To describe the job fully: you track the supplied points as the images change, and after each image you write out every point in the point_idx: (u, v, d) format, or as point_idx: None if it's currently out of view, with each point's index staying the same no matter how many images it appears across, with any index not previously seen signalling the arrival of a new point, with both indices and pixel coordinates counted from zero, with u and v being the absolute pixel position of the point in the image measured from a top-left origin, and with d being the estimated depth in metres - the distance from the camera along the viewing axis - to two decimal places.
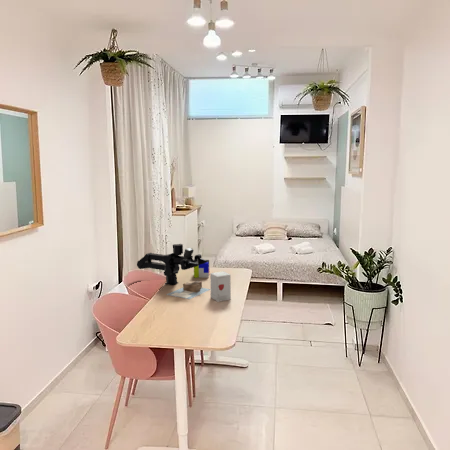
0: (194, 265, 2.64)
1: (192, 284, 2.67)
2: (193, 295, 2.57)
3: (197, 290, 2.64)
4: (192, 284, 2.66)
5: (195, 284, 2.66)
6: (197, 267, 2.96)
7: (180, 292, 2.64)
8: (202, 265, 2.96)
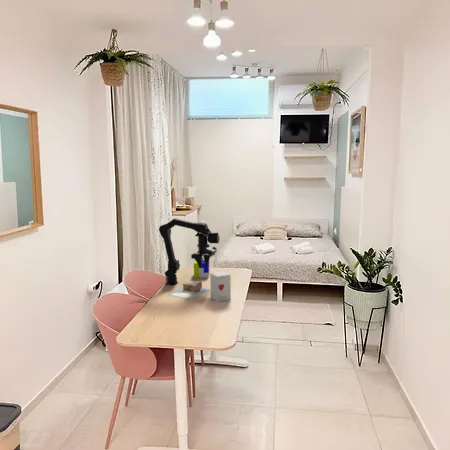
0: (199, 265, 2.73)
1: (192, 284, 2.67)
2: (193, 295, 2.57)
3: (197, 290, 2.64)
4: (192, 284, 2.66)
5: (195, 284, 2.66)
6: (197, 267, 2.96)
7: (180, 292, 2.64)
8: (202, 265, 2.96)
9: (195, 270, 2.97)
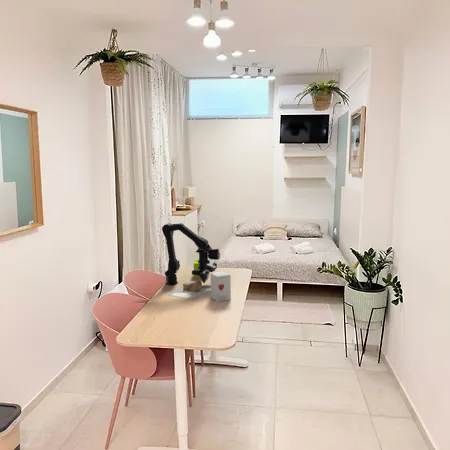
0: (202, 279, 2.78)
1: (192, 284, 2.67)
2: (193, 295, 2.57)
3: (197, 290, 2.64)
4: (192, 284, 2.66)
5: (195, 284, 2.66)
6: (197, 267, 2.96)
7: (180, 292, 2.64)
8: None
9: None
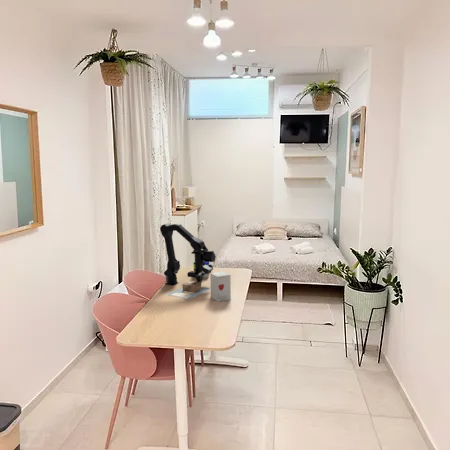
0: None
1: (192, 284, 2.66)
2: (193, 295, 2.57)
3: (196, 290, 2.64)
4: (191, 285, 2.65)
5: (194, 284, 2.66)
6: None
7: (180, 292, 2.64)
8: None
9: None
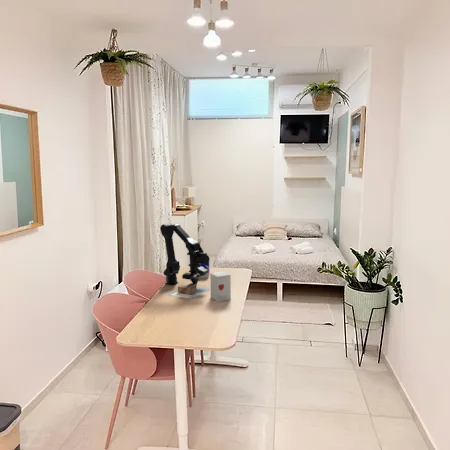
0: None
1: (187, 286, 2.62)
2: (193, 295, 2.57)
3: (192, 293, 2.59)
4: (187, 287, 2.61)
5: (190, 286, 2.61)
6: None
7: None
8: (202, 265, 2.96)
9: None
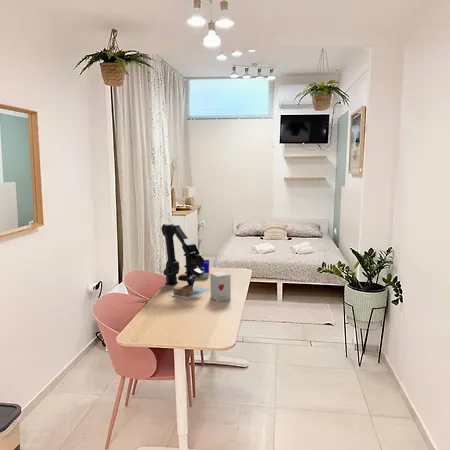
0: None
1: (183, 288, 2.59)
2: (193, 295, 2.57)
3: (188, 294, 2.56)
4: (183, 289, 2.57)
5: (186, 288, 2.58)
6: (197, 267, 2.96)
7: None
8: None
9: None
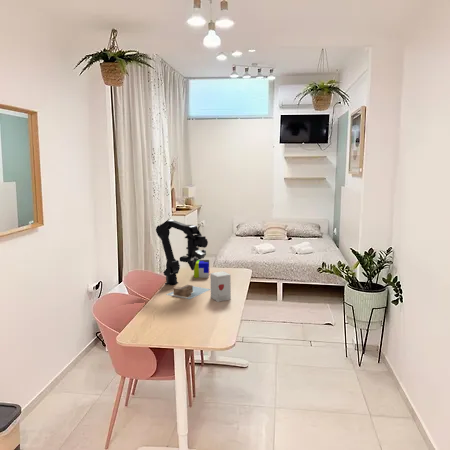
0: (191, 267, 2.70)
1: (183, 288, 2.59)
2: (193, 295, 2.57)
3: (188, 294, 2.56)
4: (183, 289, 2.57)
5: (186, 288, 2.58)
6: (197, 267, 2.96)
7: None
8: (202, 265, 2.96)
9: (195, 270, 2.97)
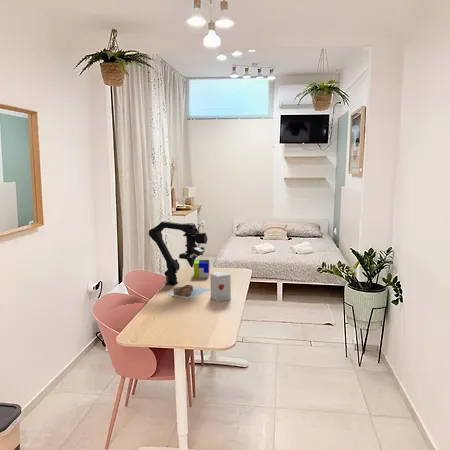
0: (190, 264, 2.77)
1: (183, 288, 2.59)
2: (193, 295, 2.57)
3: (188, 294, 2.56)
4: (183, 289, 2.57)
5: (186, 288, 2.58)
6: (197, 267, 2.96)
7: None
8: (202, 265, 2.96)
9: (195, 270, 2.97)
